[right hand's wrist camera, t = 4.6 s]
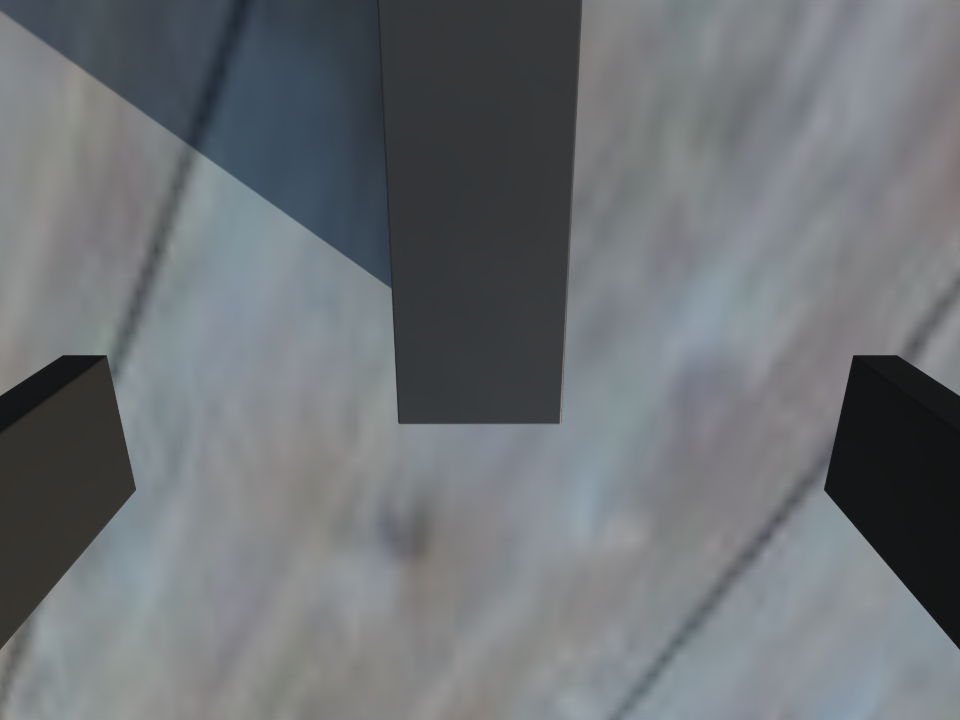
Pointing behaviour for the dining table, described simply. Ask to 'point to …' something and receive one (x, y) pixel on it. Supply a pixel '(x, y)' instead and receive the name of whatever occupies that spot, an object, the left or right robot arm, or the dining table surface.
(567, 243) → the charcoal box
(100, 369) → the right robot arm
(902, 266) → the dining table surface
